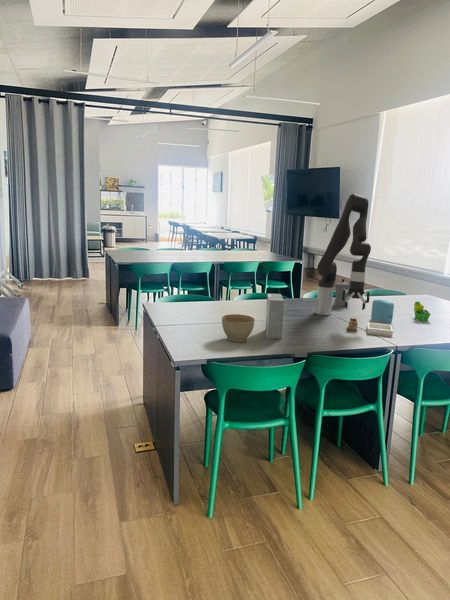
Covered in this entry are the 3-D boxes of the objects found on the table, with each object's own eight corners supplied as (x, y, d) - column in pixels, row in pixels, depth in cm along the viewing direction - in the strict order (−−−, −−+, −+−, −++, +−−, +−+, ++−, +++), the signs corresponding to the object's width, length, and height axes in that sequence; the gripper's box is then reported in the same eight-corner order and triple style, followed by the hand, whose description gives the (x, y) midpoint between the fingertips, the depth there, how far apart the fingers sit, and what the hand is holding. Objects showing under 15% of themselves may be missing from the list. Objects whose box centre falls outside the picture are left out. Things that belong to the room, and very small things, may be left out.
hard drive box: (265, 329, 244) (267, 293, 240) (279, 330, 244) (281, 293, 239) (266, 338, 229) (269, 299, 224) (282, 339, 228) (284, 300, 224)
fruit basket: (429, 322, 272) (432, 304, 269) (414, 321, 274) (416, 302, 271) (425, 317, 283) (428, 300, 280) (410, 316, 284) (412, 299, 282)
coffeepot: (337, 307, 302) (339, 280, 298) (328, 304, 310) (330, 278, 307) (355, 306, 309) (358, 279, 305) (346, 303, 317) (348, 277, 313)
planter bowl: (229, 346, 215) (230, 323, 212) (216, 336, 229) (216, 315, 227) (259, 342, 221) (260, 321, 219) (244, 333, 235) (245, 313, 233)
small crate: (348, 330, 249) (348, 321, 248) (348, 326, 256) (349, 317, 255) (356, 331, 248) (357, 322, 246) (356, 327, 255) (357, 318, 254)
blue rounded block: (392, 323, 267) (394, 303, 265) (387, 324, 265) (389, 303, 262) (375, 318, 277) (377, 299, 275) (370, 319, 275) (372, 299, 272)
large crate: (367, 333, 243) (367, 328, 242) (366, 327, 256) (367, 322, 255) (392, 336, 240) (392, 331, 239) (390, 329, 252) (391, 324, 252)
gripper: (371, 279, 248) (368, 308, 251) (344, 277, 252) (341, 306, 255) (371, 282, 241) (368, 311, 244) (343, 279, 244) (340, 309, 248)
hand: (354, 309), depth 250 cm, fingers open, 8 cm apart
